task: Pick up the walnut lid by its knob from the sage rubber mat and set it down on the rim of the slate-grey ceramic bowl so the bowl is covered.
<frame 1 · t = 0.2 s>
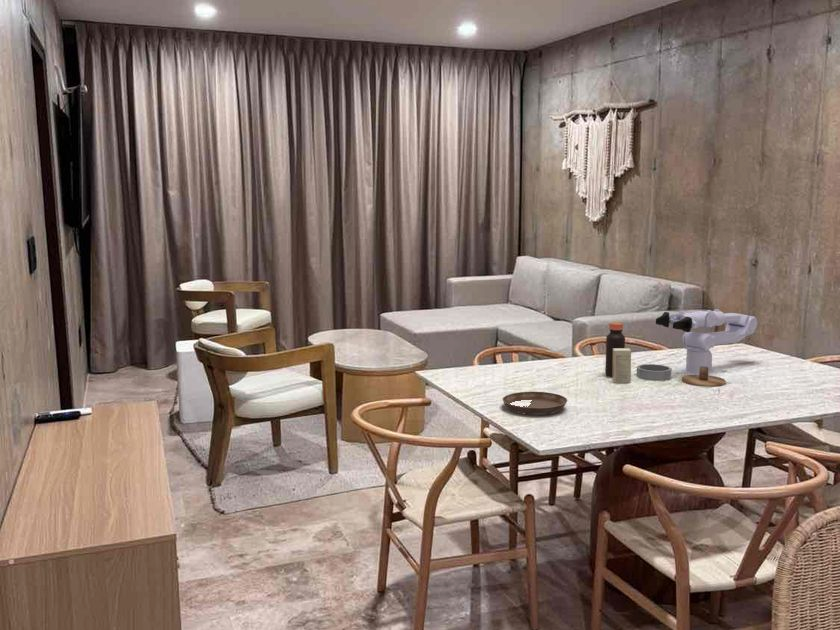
hand: (665, 323, 285), 21 cm above the table, tool horizontal, fingers open, 7 cm apart
mat: (703, 383, 283), on the table
skincare box: (620, 382, 286), on the table
bowl: (653, 378, 291), on the table
plant saucer: (534, 409, 253), on the table
bottle: (614, 376, 295), on the table
lid: (703, 381, 283), point 1 cm above the table, touching mat
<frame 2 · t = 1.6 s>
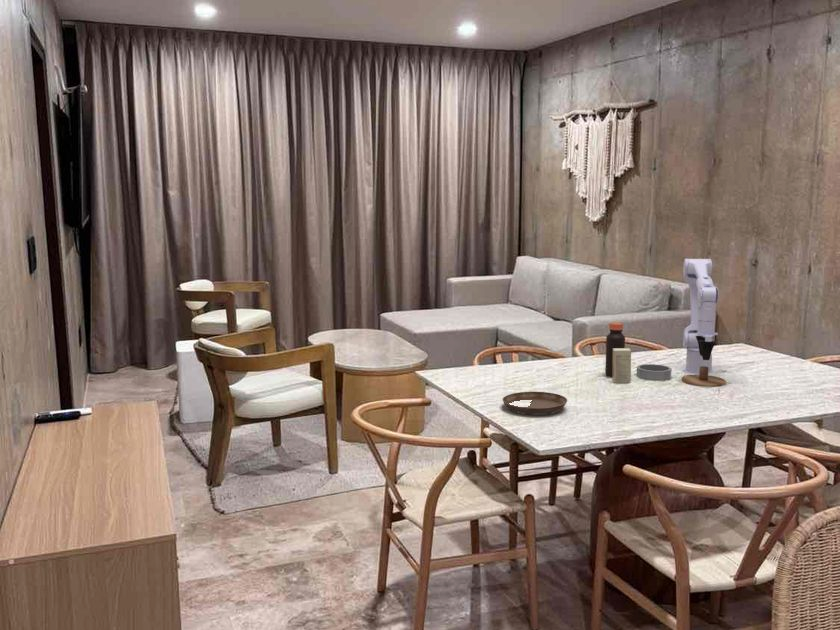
hand: (704, 357, 282), 9 cm above the table, tool pointing down, fingers open, 7 cm apart
nothing on the table moved.
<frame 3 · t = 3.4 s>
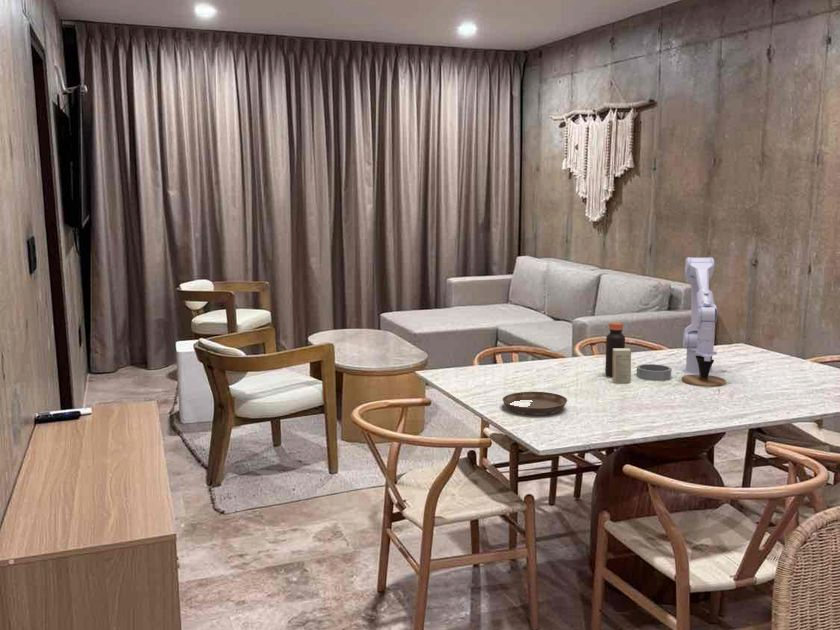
hand: (703, 376, 283), 2 cm above the table, tool pointing down, fingers closed on lid, 3 cm apart
lid: (703, 381, 283), point 1 cm above the table, touching gripper, mat
everything else where it was.
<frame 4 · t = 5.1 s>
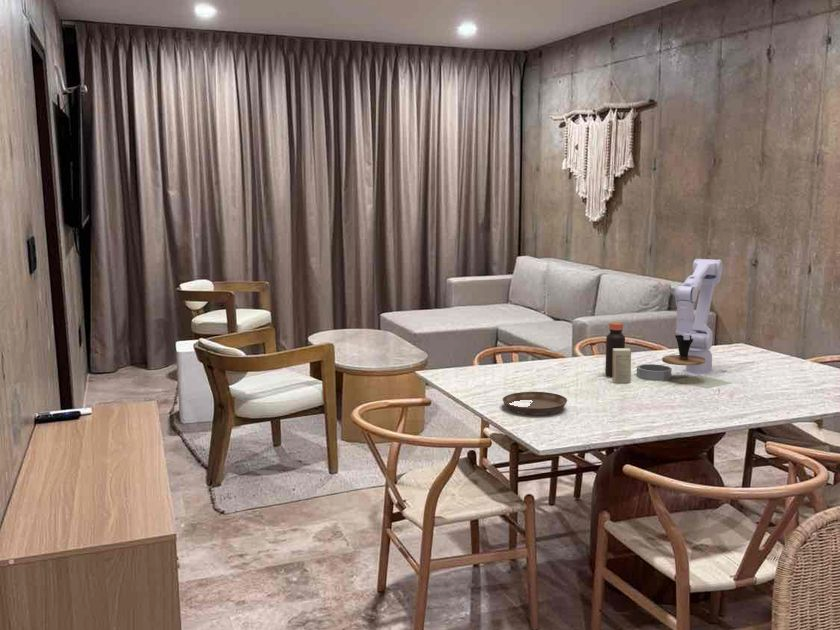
hand: (683, 355, 285), 9 cm above the table, tool pointing down, fingers closed on lid, 3 cm apart
lid: (683, 361, 285), point 7 cm above the table, touching gripper
everything else where it was.
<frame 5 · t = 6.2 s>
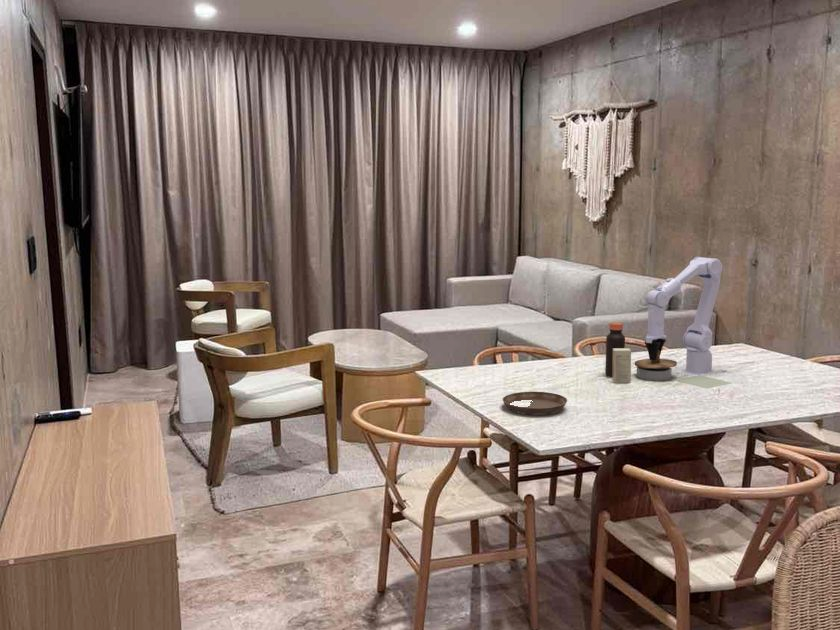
hand: (654, 359, 290), 7 cm above the table, tool pointing down, fingers closed on lid, 3 cm apart
lid: (655, 364, 290), point 5 cm above the table, touching gripper
everything else where it was.
when the fingers open (7 cm above the table, at t = 7.0 s): lid stays where it is, resting on bowl.
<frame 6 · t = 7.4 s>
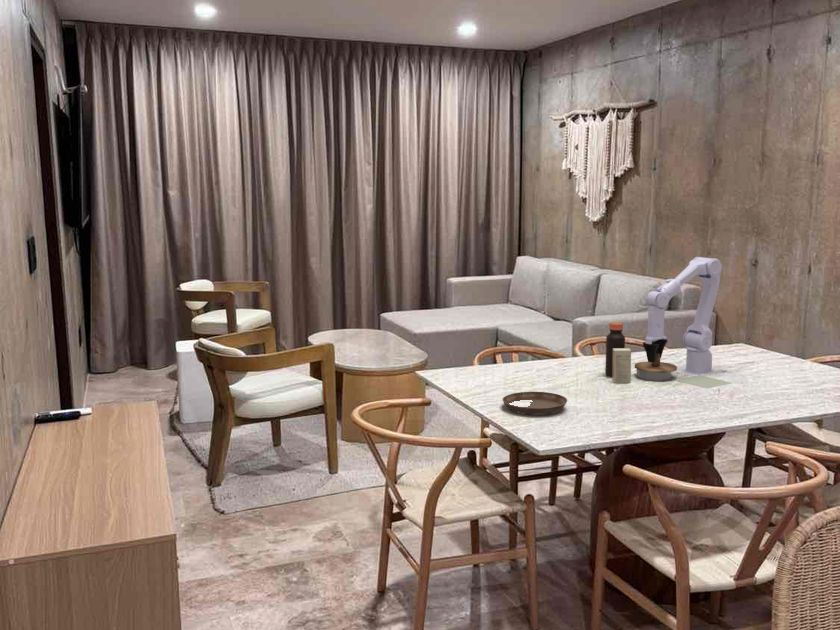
hand: (654, 360, 290), 7 cm above the table, tool pointing down, fingers open, 7 cm apart
lid: (655, 367, 290), point 4 cm above the table, touching bowl
everything else where it was.
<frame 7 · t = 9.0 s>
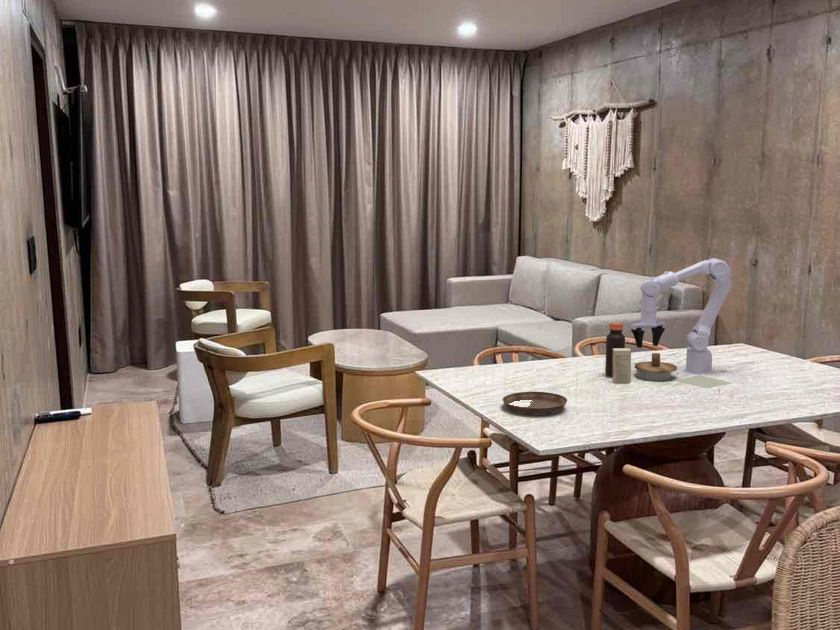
hand: (647, 346, 300), 10 cm above the table, tool pointing down, fingers open, 7 cm apart
nothing on the table moved.
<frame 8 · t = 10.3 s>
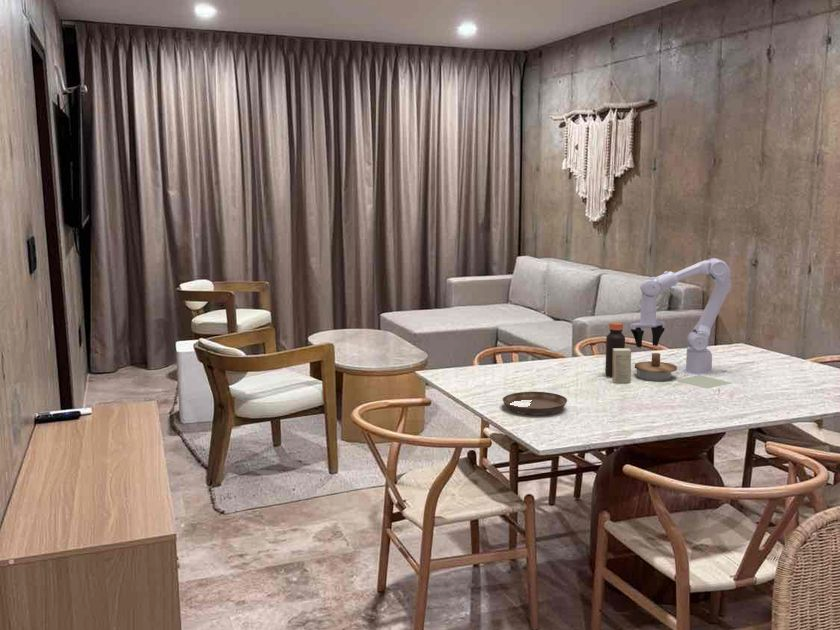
hand: (647, 346, 300), 10 cm above the table, tool pointing down, fingers open, 7 cm apart
nothing on the table moved.
at the end: lid 0.5 cm off-centre on the bowl, point 4.0 cm above the bowl's base; lid tilted 0°; the gripper is holding nothing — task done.
